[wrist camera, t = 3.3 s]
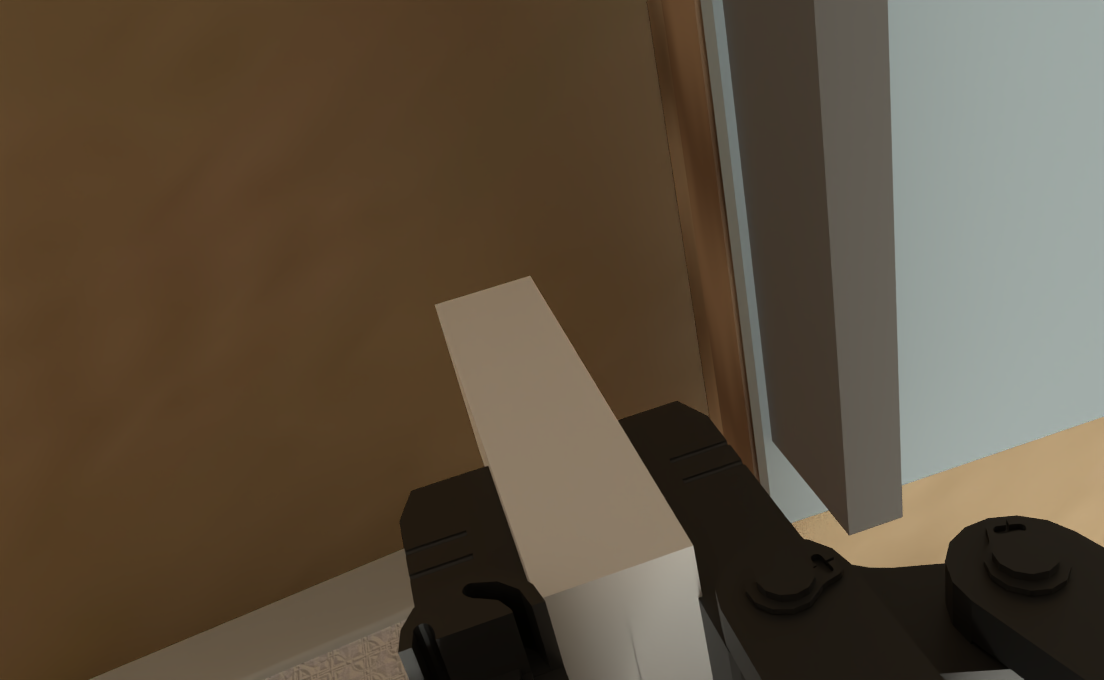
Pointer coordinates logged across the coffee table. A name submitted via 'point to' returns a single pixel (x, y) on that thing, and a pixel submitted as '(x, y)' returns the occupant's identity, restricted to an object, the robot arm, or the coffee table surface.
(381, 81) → the coffee table surface
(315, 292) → the coffee table surface
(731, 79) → the lid
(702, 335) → the brown wooden frame
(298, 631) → the red striped arch block
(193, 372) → the coffee table surface
